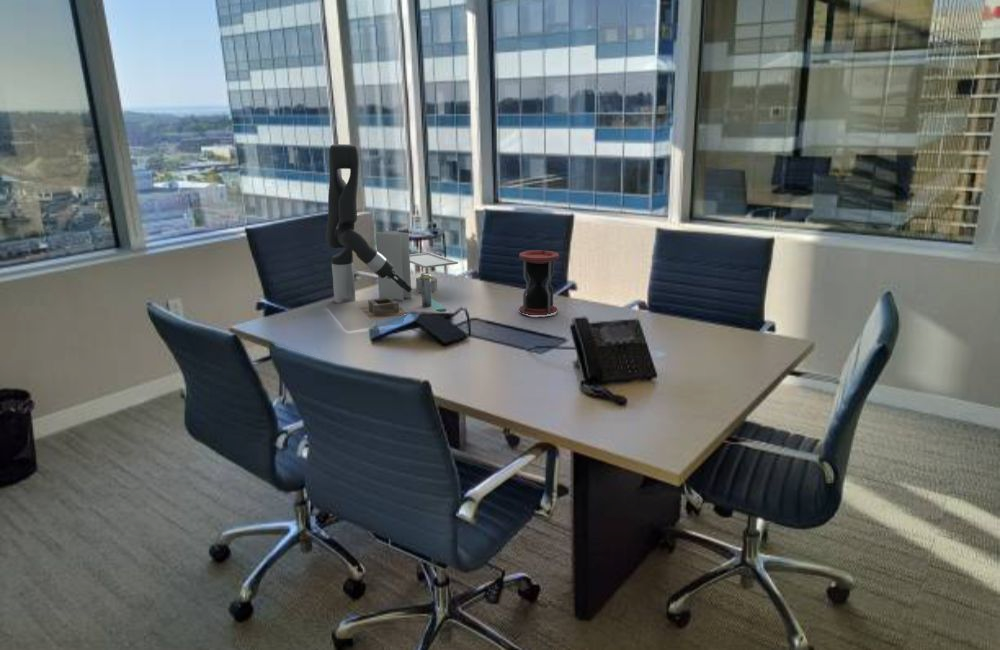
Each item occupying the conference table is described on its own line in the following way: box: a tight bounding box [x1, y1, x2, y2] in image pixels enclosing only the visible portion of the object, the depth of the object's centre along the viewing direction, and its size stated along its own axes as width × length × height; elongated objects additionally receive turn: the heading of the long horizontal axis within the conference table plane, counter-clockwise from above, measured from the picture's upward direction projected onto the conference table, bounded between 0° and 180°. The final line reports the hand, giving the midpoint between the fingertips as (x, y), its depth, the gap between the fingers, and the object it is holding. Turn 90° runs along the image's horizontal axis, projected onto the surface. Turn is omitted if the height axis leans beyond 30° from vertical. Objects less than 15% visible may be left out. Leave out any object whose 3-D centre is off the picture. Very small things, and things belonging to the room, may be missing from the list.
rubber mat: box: [430, 300, 447, 312], centre depth 294 cm, size 14×12×1 cm
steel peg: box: [420, 272, 432, 308], centre depth 292 cm, size 4×4×14 cm
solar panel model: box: [410, 251, 459, 293], centre depth 322 cm, size 28×17×15 cm, turn 34°
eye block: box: [358, 297, 408, 320], centre depth 286 cm, size 20×16×5 cm
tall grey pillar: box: [375, 230, 412, 301], centre depth 304 cm, size 14×6×30 cm, turn 58°
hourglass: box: [518, 249, 560, 315], centre depth 284 cm, size 16×16×25 cm
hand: (407, 288), depth 288 cm, fingers open, 8 cm apart
